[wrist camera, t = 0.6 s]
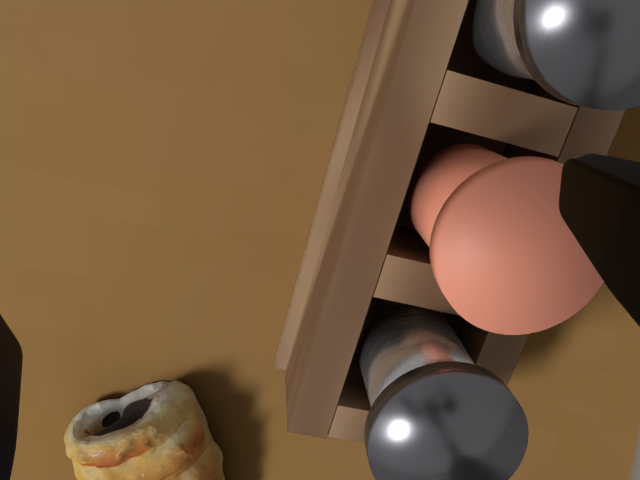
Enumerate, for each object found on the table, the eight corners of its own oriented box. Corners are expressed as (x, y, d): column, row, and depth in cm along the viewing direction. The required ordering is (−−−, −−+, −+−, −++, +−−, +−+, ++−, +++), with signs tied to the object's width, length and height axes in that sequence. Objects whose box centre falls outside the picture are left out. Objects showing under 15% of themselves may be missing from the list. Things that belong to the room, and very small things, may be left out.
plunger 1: (484, 306, 22) (553, 392, 17) (443, 410, 24) (494, 519, 18) (365, 280, 21) (396, 361, 16) (330, 389, 23) (348, 497, 17)
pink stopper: (546, 149, 20) (648, 187, 15) (497, 272, 22) (573, 349, 16) (418, 113, 19) (474, 140, 14) (376, 244, 21) (412, 315, 15)
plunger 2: (623, -43, 18) (772, -81, 13) (563, 108, 20) (674, 132, 14) (483, -91, 17) (578, -154, 12) (432, 70, 19) (496, 80, 13)
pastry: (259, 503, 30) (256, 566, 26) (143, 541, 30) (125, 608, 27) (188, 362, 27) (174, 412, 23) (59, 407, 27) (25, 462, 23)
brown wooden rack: (623, -54, 22) (725, -83, 17) (447, 392, 28) (484, 465, 23) (408, -128, 20) (451, -183, 15) (275, 359, 27) (274, 429, 22)
